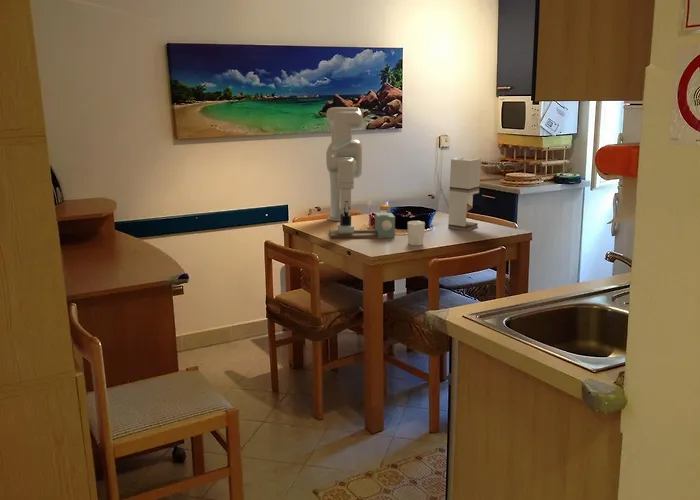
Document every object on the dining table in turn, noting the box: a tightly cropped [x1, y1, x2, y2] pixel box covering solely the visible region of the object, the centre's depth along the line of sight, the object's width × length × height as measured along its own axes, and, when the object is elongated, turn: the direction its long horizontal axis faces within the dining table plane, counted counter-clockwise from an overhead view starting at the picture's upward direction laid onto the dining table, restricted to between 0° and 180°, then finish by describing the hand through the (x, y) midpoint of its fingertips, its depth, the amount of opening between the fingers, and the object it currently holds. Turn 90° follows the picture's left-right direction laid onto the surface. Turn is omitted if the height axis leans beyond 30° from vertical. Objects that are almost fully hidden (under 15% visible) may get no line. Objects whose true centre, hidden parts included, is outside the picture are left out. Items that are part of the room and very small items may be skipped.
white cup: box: [407, 220, 426, 246], centre depth 302 cm, size 8×8×10 cm
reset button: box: [379, 204, 391, 211], centre depth 317 cm, size 5×5×2 cm
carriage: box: [337, 213, 355, 234], centre depth 317 cm, size 9×7×9 cm
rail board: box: [328, 229, 378, 240], centre depth 318 cm, size 12×22×3 cm, turn 96°
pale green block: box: [374, 212, 396, 239], centre depth 319 cm, size 11×8×10 cm
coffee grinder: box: [447, 157, 482, 232], centre depth 334 cm, size 11×11×35 cm
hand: (345, 223), depth 317 cm, fingers closed on carriage, 3 cm apart
